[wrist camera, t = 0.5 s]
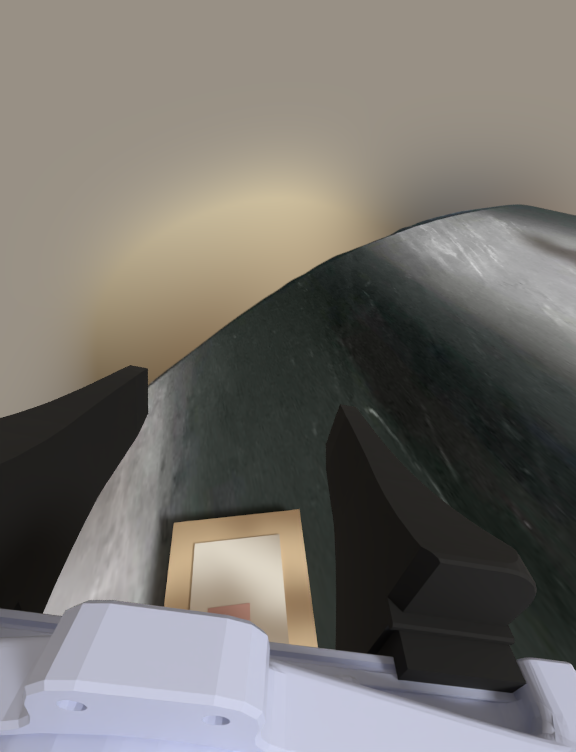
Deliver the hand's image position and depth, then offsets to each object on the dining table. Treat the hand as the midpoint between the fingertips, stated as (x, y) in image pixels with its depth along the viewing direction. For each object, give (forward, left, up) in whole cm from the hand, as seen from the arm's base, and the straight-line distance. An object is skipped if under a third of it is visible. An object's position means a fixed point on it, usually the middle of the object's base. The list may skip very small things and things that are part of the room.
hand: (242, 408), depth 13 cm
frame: (-5, 0, -20) cm, 20 cm away
